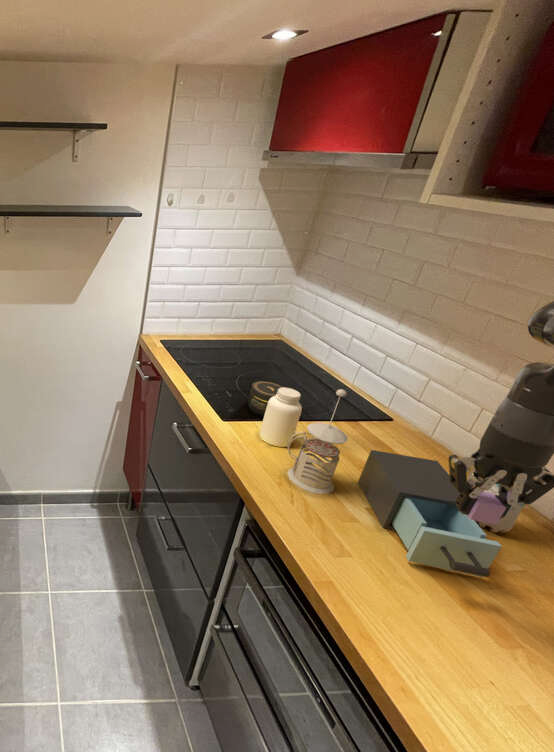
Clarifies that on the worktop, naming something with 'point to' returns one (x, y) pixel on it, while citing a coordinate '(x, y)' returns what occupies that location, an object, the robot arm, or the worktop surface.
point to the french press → (307, 472)
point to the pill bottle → (281, 417)
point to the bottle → (510, 517)
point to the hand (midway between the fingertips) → (477, 513)
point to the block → (487, 509)
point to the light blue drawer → (443, 537)
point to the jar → (261, 396)
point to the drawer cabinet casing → (403, 483)
